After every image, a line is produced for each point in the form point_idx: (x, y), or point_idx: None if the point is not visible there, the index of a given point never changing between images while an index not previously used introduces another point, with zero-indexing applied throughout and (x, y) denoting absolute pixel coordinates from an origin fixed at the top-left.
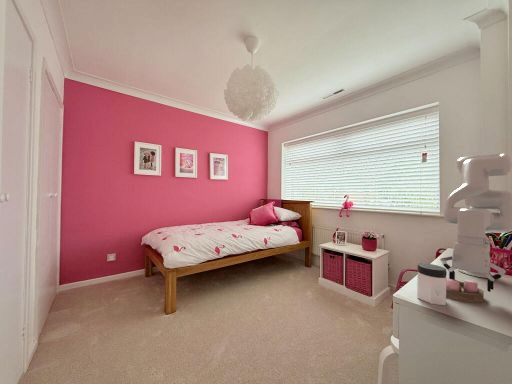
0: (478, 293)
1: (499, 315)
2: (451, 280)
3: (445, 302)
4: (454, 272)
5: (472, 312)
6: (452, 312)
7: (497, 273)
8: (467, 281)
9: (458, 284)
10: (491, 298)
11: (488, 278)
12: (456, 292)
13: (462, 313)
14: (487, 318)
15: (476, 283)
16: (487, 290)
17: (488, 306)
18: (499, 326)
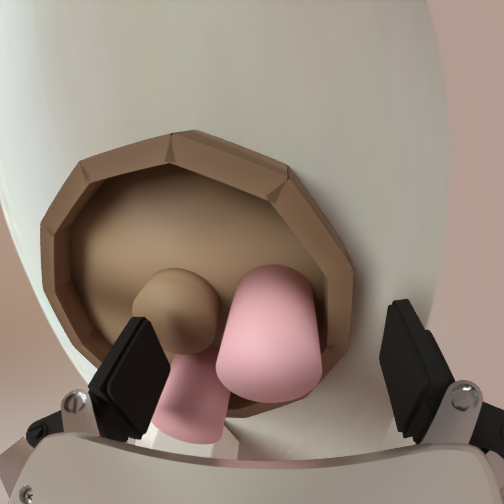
0: (325, 358)
1: (385, 394)
2: (179, 429)
3: (237, 450)
4: (124, 407)
5: (309, 432)
6: (268, 456)
7: (495, 472)
8: (247, 384)
9: (223, 426)
10: (378, 170)
11: (414, 441)
12: (235, 416)
13: (288, 449)
14: (347, 434)
15: (315, 378)
16: (380, 360)
17: (361, 346)
18: (367, 444)
